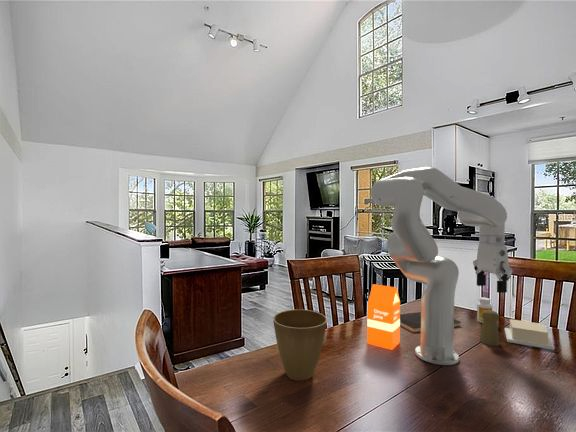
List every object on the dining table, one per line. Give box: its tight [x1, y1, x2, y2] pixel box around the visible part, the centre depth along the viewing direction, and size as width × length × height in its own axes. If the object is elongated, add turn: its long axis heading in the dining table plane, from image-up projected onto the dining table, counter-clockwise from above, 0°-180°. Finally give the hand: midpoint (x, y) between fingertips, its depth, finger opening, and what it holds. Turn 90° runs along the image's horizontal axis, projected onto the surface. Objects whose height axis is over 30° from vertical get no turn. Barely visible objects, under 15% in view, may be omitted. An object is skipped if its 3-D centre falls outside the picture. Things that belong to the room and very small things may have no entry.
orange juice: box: [366, 283, 401, 351], centre depth 113 cm, size 8×9×20 cm
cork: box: [479, 310, 501, 347], centre depth 115 cm, size 6×6×11 cm
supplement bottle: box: [476, 296, 493, 324], centre depth 136 cm, size 5×5×10 cm
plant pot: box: [272, 309, 328, 382], centre depth 91 cm, size 15×15×16 cm
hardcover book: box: [400, 311, 462, 333], centre depth 135 cm, size 16×23×2 cm
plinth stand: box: [504, 319, 555, 351], centre depth 118 cm, size 13×13×5 cm
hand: (491, 288), depth 115 cm, fingers open, 9 cm apart
